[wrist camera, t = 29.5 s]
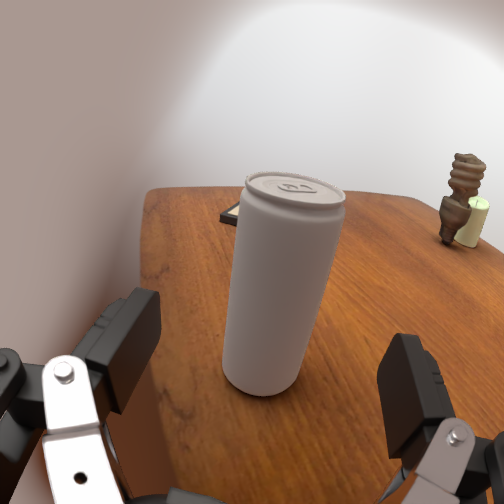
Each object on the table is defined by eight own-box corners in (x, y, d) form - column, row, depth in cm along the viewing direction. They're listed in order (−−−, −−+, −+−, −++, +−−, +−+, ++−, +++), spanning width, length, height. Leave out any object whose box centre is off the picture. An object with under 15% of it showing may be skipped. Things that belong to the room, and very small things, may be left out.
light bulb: (465, 251, 43) (493, 162, 36) (448, 253, 41) (478, 156, 34) (442, 235, 48) (466, 151, 41) (423, 236, 46) (448, 145, 39)
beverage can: (213, 350, 21) (229, 169, 15) (279, 341, 22) (316, 173, 17) (233, 408, 17) (265, 203, 11) (308, 392, 19) (370, 206, 13)
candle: (471, 250, 44) (487, 204, 41) (448, 237, 48) (462, 192, 44) (478, 245, 47) (492, 202, 44) (456, 233, 51) (469, 191, 47)
